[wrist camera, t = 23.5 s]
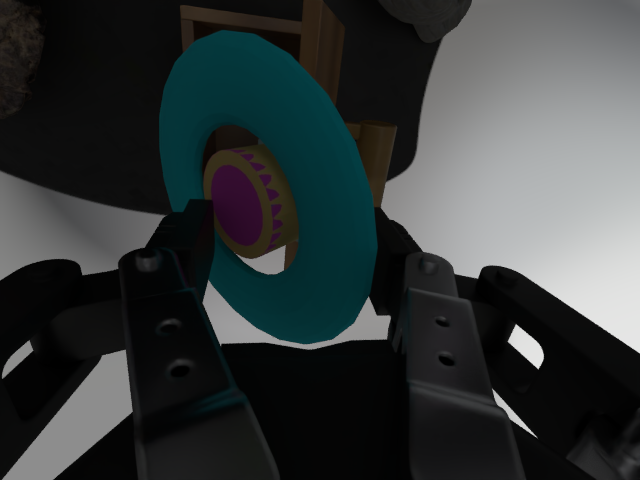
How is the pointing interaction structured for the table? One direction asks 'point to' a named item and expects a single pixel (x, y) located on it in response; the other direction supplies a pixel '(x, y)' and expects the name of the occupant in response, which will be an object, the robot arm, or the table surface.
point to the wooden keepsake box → (212, 21)
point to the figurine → (428, 15)
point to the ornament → (271, 185)
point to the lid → (324, 67)
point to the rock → (19, 52)
